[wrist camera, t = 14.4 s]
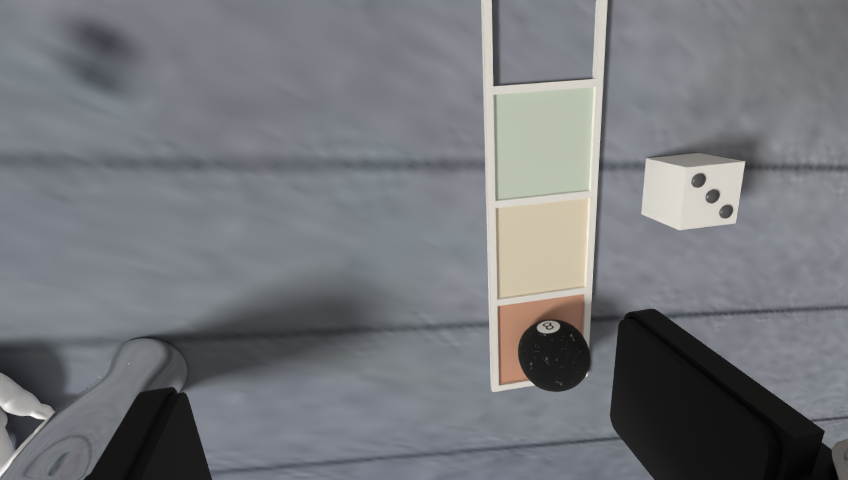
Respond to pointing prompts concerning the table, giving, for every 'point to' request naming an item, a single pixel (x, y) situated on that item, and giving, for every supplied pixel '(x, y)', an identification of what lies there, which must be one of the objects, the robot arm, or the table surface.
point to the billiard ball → (554, 355)
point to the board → (539, 202)
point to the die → (692, 190)
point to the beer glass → (95, 413)
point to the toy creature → (16, 411)
